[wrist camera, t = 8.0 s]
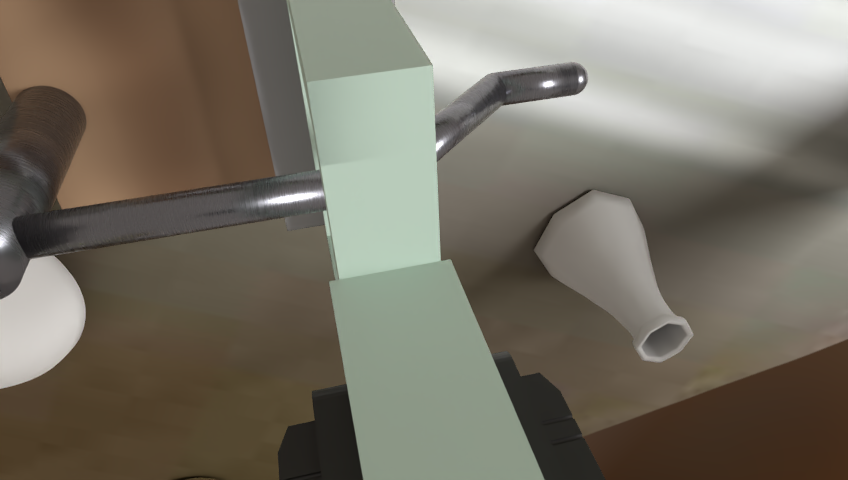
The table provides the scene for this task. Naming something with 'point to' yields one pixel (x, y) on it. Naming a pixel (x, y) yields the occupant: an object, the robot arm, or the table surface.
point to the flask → (613, 270)
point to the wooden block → (143, 91)
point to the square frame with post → (384, 238)
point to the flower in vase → (39, 321)
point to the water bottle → (201, 478)
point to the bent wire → (196, 208)
